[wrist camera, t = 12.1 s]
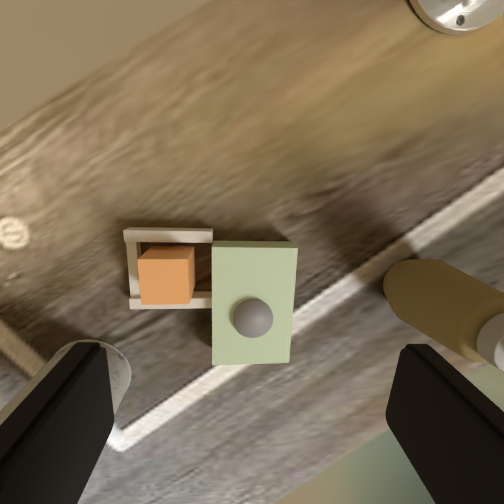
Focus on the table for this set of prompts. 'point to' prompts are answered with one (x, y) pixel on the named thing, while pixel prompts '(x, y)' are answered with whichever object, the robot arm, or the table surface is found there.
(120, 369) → the speckled stone cylinder
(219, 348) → the green plate with dome
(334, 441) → the table surface
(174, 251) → the matte orange cube
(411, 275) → the squeeze bottle
